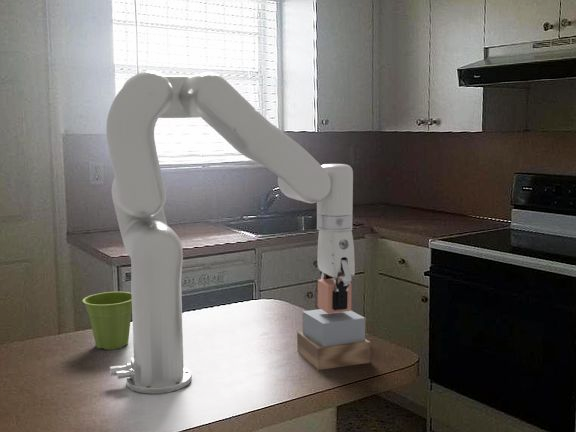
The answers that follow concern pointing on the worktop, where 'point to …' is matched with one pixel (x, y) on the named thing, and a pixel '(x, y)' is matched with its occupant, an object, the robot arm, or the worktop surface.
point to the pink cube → (330, 296)
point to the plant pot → (110, 318)
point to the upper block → (333, 327)
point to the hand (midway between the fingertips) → (334, 304)
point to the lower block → (333, 353)
